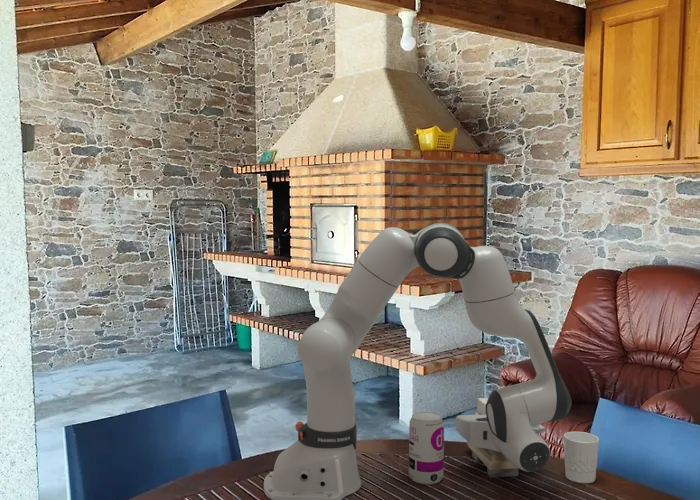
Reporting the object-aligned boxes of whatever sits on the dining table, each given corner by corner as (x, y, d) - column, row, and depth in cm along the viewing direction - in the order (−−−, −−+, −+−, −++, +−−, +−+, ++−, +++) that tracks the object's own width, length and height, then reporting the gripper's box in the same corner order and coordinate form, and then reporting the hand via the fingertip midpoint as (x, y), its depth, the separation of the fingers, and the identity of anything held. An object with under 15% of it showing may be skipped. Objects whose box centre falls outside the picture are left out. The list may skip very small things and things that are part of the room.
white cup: (600, 486, 145) (601, 443, 145) (565, 483, 147) (566, 441, 146) (594, 472, 153) (595, 432, 152) (560, 470, 154) (561, 430, 154)
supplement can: (450, 478, 149) (451, 416, 148) (429, 488, 143) (430, 424, 142) (422, 468, 155) (423, 409, 154) (401, 478, 149) (402, 416, 148)
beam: (489, 477, 149) (489, 454, 149) (466, 451, 166) (466, 430, 166) (519, 476, 150) (520, 453, 150) (494, 450, 167) (494, 429, 167)
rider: (483, 442, 159) (484, 403, 158) (476, 435, 164) (477, 398, 163) (498, 442, 159) (499, 403, 159) (491, 435, 164) (492, 397, 164)
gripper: (548, 418, 150) (525, 401, 163) (466, 421, 147) (449, 404, 160) (548, 444, 150) (524, 425, 164) (466, 447, 147) (448, 428, 161)
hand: (486, 414), depth 162 cm, fingers closed on rider, 4 cm apart
